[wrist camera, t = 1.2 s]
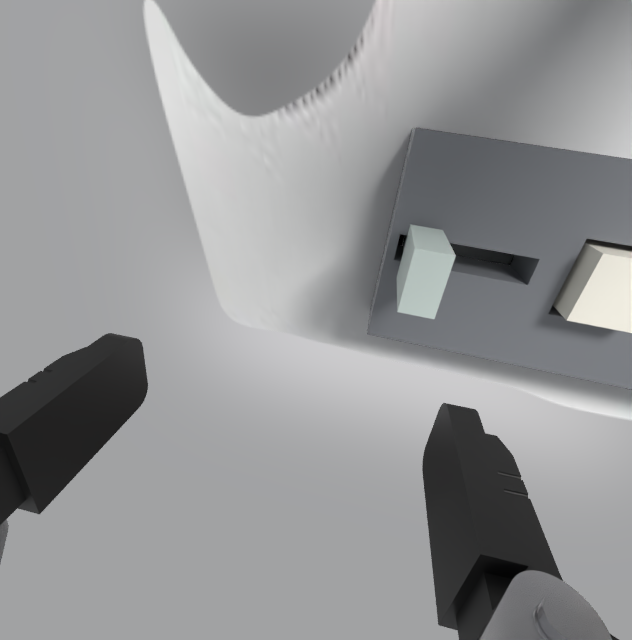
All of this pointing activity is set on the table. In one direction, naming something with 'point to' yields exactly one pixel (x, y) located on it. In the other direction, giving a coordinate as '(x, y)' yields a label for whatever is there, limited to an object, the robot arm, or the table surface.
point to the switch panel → (509, 251)
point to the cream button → (599, 287)
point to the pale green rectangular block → (423, 271)
